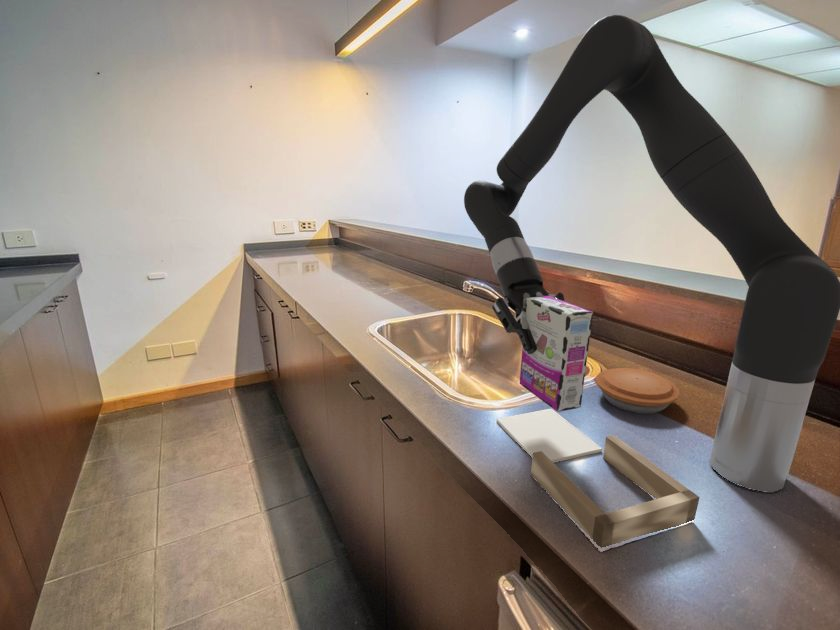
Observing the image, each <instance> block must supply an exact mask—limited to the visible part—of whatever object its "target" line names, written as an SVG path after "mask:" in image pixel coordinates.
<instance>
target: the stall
mask: <svg viewBox="0 0 840 630" xmlns="http://www.w3.org/2000/svg"><path fill="white" fill-rule="evenodd" d="M602 459H604V460H605V461H606V462H607V463H608V464H610V465H611V466H612V467H613V468H615V469H616V470H617V471H618V470H619V471H618V472H619V473H620V474H622V475H623V474H624V475H625V476H624V475H623V476H624V477H626V478H627V479H628V478H629V479H630V480H632V481H633V482H634V483H635V484H637V485H638V486H640V487H641V488H643V489H644V490H645V491H646V492H647V493H649V494H650V495H652V496H653V497H654V498H656V499H655V500H654V499H652V500H648V501H646V502H645V501H644V502H642V503H637V504H633V505H632V506H627V507H624V508H621V509H617V510H614V511H611V512H608V513H605V512H604V511H603V510H602V509H601V508H600V507H599V506H598V505H597V504H596V503H595V502H594V501H593V500H592V499H591V498H590V497H589V496H588V495H587V494H586V493H585V492H584V491H583V490H582V489H581V488H580V487H578V485H577V484H576V483H575V482H574V481H572V479H571V478H569V476H567V474H565V472H563V471H562V470H561V469H560V468H559V467H558V465H556V464H555V463H553V462H552V461H551V460H550V459H549V458H548V457H547V456H546V455H545V454H544V453H543V452H542V451H539V452H535V453H533V456H532V458H531V468H530V469H531V470H530V476H531V475H532V476H533V477H534V478H535V479H536V480H537V482H538V483H539V484H540V485H541V486H542V487H543V488H544V489H545V490H546V491H547V493H549V495H550V496H551V497H552V498H553V499H554V500H555V501H556V502H557V503H558V505H560V506H561V508H563V509H564V511H565V512H566V513H567V514H568V515H569V516H570V517H571V518H572V519H573V520H574V521H575V523H577V524H578V525H579V527H580V528H582V529H583V530H584V531H585V532H586V533H587V534H588V535H589V536H590V538H591V539H593V541H594V542H596V544H597V545H598V546H600V547H601V548H602V547H606V546H609V545H612V544H616V543H620V542H622V541H626V540H629V539H631V538H635V537H639V536H642V535H646V534H649V533H653V532H657V531H660V530H664V529H668V528H671V527H676V526H679V525H681V524H684V523H687V522H689V521H692V520H694V519H696V513H697V511H698V510H697V509H698V506H699V501H700V496H699V495H697V494H696V493H695V492H694V491H693V490H691V489H689V488H688V487H686V486H685V485H684V484H682V483H681V482H679V480H677V479H675V478H674V476H673V477H672V476H671V475H670V474H668V473H667V472H665V470H663V469H662V468H660V467H659V466H658V465H656V464H655V463H653V462H652V461H650V460H649V459H648V458H646V457H645V456H644V455H642V454H641V453H640V452H638V451H637V450H635V449H634V448H632V447H631V446H630V445H629V444H628V443H626V442H624V441H623V440H622V439H620V438H619V437H618V436H616V435H615V434H612V435H607V436H605V441H604V449H603V457H602ZM532 476H531V477H532ZM533 477H532V478H533ZM629 479H628V480H629ZM630 480H629V481H630ZM632 481H631V482H632ZM537 482H536V483H537ZM633 482H632V483H633ZM538 483H537V484H538ZM634 483H633V484H634ZM539 484H538V485H539ZM635 484H634V485H635ZM540 485H539V486H540ZM637 485H636V486H637ZM541 486H540V487H541ZM638 486H637V487H638ZM542 487H541V488H542ZM547 493H546V494H547ZM549 495H548V496H549ZM550 496H549V497H550ZM558 505H557V506H558ZM694 521H695V520H694Z"/></svg>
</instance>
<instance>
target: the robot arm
mask: <svg viewBox="0 0 840 630" xmlns="http://www.w3.org/2000/svg"><path fill="white" fill-rule="evenodd" d="M653 35H654V34H652V33H651V31H650V30H649V29H648V28H647V27H646V26H645V25H643V24H642V23H640V22H638V21H636V20H634V19H632V18H630V17H628V16H626V15H622V14H611V15H606V16H604V17H602V18H600V19H598V20H597V21H595V22H594V23H593V24H592V25H591V26H590V27H589V28H588V29H587V30H586V32H585V33H584V35H583V36H582V38H581V39H580V40H579V42H578V43H577V45H576V47H575V49H574V50H573V52H572V54H571V55H570V57H569V59H567V62H566V64H565V66H564V67H563V69H562V71H561V72H560V74H559V76H558V78H557V79H556V81H555V82H554V84H553V85H552V87H551V89H550V91H549V93H547V96H546V97H545V99H544V100H543V102H542V103H541V106H540V107H539V108H538V110H537V111H536V113H535V114H534V116H533V117H532V118H531V120H530V121H529V123H528V124H527V126H526V127H525V128H524V129H523V131H522V132H521V133H520V134H519V136H518V137H517V139H516V140H515V141H514V142H513V144H512V145H511V146H510V147H509V149H508V150H507V151H506V152H505V154H504V155H503V156H502V157H501V159H500V160H499V162H498V163H497V166H496V174H497V176H498V177H499V179H500V181H501V182H502V183H500V184H497V183H494V182H489V181H487V180H475V181H473V182H472V183H470V184H469V185H468V186H467V188H466V190H465V191H464V195H463V196H464V197H463V204H464V209H465V211H466V214H467V216H468V218H469V219H470V221H471V222H472V224H473V226H474V227H475V228H476V229H477V231H478V232H479V233H480V234H481V237H483V238H484V241H485V245H486V247H487V249H488V250H487V251H488V252H489V255H490V259H491V260H490V261H491V264H492V267H493V271H494V273H495V276H496V278H497V280H498V281H497V282H498V284H499V287H500V289H501V292H502V295H503V296H504V298H502V297H498V298H497V299H496V300H495V302H494V303H493V304H492V306H491V308H492V310H493V311H494V313H495V315H496V317H497V318H498V320H499V322H500V323H501V325H502V326H503V329H504V330H505V332H506V333H508V334H512V333H514V334H516V335H518V337H519V340H520V343H521V346H522V347H523V349H524V350H525V351H527V353H528V354H533V353H534V352H535V351H536V350H537V346H536V344H535V341H534V339H533V336H532V333H531V331H530V330H528V321H527V318H526V317H527V313H526V298H530V297H539V296H551V297H553V298H556V299H559V300H562V301H564V302H566V301H565V296H564V294H563V293H562V292H558V293H557V294H552V293H551V294H550V293H549V292H548V291H547V289H545V287H544V280H543V277H542V274H541V272H540V269H539V267H538V264H537V262H536V260H535V258H534V256H533V253H532V250H531V249H530V247H529V245H528V243H527V242H526V240H525V238H524V234H523V232H522V230H521V227H520V225H519V223H518V221H517V220H516V219H515V218H514V217H512V216H511V215H512V214H513V213H514V211H515V210H516V208H517V207H518V204H519V203H520V201H521V199H522V197H523V196H524V193H525V190H526V189H527V187H528V184H529V183H530V182H532V181H533V179H534V178H536V176H537V175H538V174H539V173H540V172H541V171H542V169H543V168H544V167H545V166H547V164H548V163H549V162H550V160H551V159H552V157H553V156H554V154H555V152H556V151H557V149H558V148H559V146H560V144H561V142H562V140H563V138H564V136H565V134H566V132H567V131H568V130H569V127H570V125H571V124H572V123H573V121H574V120H575V119H576V117H577V116H578V115H579V113H581V111H582V110H583V109H584V108H586V106H587V105H588V104H589V103H590V102H591V101H593V99H595V98H596V97H597V96H598V95H599V94H600V93H601V92H603V91H607V92H609V93H610V94H611V95H612V96H614V98H615V99H616V100H617V101H618V102H619V103H620V104H621V105H622V106H623V107H624V108H625V110H626V111H627V112H628V114H629V115H631V116H632V119H633V120H634V121H635V123H636V124H637V126H638V129H639V130H640V133H641V136H642V138H643V141H644V144H645V145H644V146H645V147H646V150H647V151H646V152H647V153H648V156H649V159H650V161H651V164H652V165H653V168H654V169H655V171H656V173H657V174H658V175H659V177H660V179H661V180H662V182H663V183H664V185H665V186H666V187H667V188H668V190H669V192H670V193H671V194H672V195H673V197H674V198H675V200H677V201H678V203H680V205H681V206H682V207H683V209H684V210H686V211H687V212H688V214H690V216H692V218H694V219H695V220H696V221H697V223H699V224H700V225H701V226H702V227H704V228H705V230H707V231H708V232H709V233H710V234H712V236H713V237H715V238H716V239H717V240H718V242H719V243H720V244H722V246H723V247H724V249H725V250H726V251H727V252H728V254H729V255H730V257H731V259H732V260H733V261H734V263H735V265H736V266H737V268H738V269H739V272H740V273H741V274H742V277H743V278H744V280H745V282H746V284H747V286H748V288H747V291H746V296H745V300H744V305H743V309H742V313H741V319H740V322H739V323H740V324H739V327H738V332H737V336H736V340H735V344H734V350H733V351H734V352H733V356H732V359H731V360H732V361H731V365H730V369H729V373H728V378H727V383H726V386H725V391H724V396H723V401H722V405H721V408H720V409H721V410H720V412H719V413H720V414H719V417H718V423H717V426H716V432H715V435H714V440H713V443H712V447H711V452H710V457H709V462H710V463H709V465H710V464H711V465H710V467H711V466H712V467H713V469H714V470H716V471H717V472H718V473H719V474H721V475H722V476H723V477H725V478H726V479H728V480H729V481H731V482H734V483H736V484H739V485H742V486H744V487H747V488H751V489H755V490H759V491H767V492H766V493H775V492H774V491H777V492H779V491H778V490H780V489H781V490H782V489H784V486H785V484H786V477H787V476H788V477H789V475H790V474H789V473H790V469H791V467H792V464H793V460H794V456H795V454H796V453H795V452H796V449H797V446H798V444H799V439H800V437H801V432H802V429H803V424H804V419H805V417H806V413H807V410H808V407H809V403H810V399H811V396H812V393H813V392H812V391H813V388H814V385H815V381H816V379H817V375H818V373H819V369H820V367H821V366H822V364H823V362H824V361H825V358H826V356H827V355H826V354H827V351H828V348H829V346H830V345H829V344H830V342H831V339H832V335H833V333H834V329H835V326H836V323H837V319H838V317H839V313H840V279H839V277H838V275H837V274H836V272H835V271H834V269H833V268H832V267H831V266H830V265H829V264H828V263H827V262H825V261H824V260H823V259H822V258H820V256H818V255H817V254H816V252H814V251H813V250H812V248H810V247H809V246H808V245H807V244H806V243H805V242H804V241H803V240H802V238H800V237H799V236H798V235H797V234H796V232H795V231H794V230H792V229H791V227H790V226H789V225H788V224H787V223H786V222H785V221H784V219H783V217H782V216H781V215H780V214H779V213H778V211H777V209H776V208H775V206H774V204H773V202H772V200H771V198H770V197H769V195H768V193H767V191H766V189H765V187H764V185H763V184H762V182H761V180H760V179H759V176H758V175H757V174H756V172H755V170H754V169H753V168H752V166H751V164H750V163H749V162H748V159H747V158H746V157H745V156H744V154H743V152H742V151H741V150H740V149H739V147H738V146H737V144H736V143H735V142H734V141H733V139H732V138H731V137H730V136H729V135H728V133H727V132H726V131H725V130H724V128H723V127H722V126H721V125H720V123H718V122H717V121H716V120H715V118H714V117H713V116H712V115H711V113H710V112H709V111H707V109H706V108H705V107H704V106H703V105H702V103H700V102H699V101H698V100H697V99H696V98H695V97H694V96H693V95H692V94H691V93H690V92H689V91H688V90H687V89H686V88H685V87H684V86H683V84H682V83H681V82H680V80H679V79H678V77H677V76H676V74H675V72H674V71H673V69H672V68H671V66H670V64H669V63H668V61H667V59H666V57H665V55H664V54H663V52H662V50H661V48H660V46H659V44H658V43H657V40H656V39H655V37H654V36H653ZM510 309H511V310H512V311H514V314H513V313H512V312H511V310H510ZM712 467H711V468H712ZM713 469H712V470H713ZM714 470H713V471H714ZM723 477H722V478H723ZM788 477H787V478H788ZM726 479H725V480H726ZM728 480H727V481H728ZM729 481H728V482H729ZM731 482H730V483H731ZM736 484H735V485H736ZM781 490H780V491H781ZM759 491H758V492H759Z"/></svg>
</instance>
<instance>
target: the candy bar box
mask: <svg viewBox="0 0 840 630" xmlns="http://www.w3.org/2000/svg"><path fill="white" fill-rule="evenodd" d="M564 301H565V300H564ZM564 301H562V300H559V299H556V298H553V297H551V296H539V297H530V298H526V313H527V317H526V318H527V321H528V330H530V331H531V333H532V336H533V339H534V341H535V344H536V346H537V350H536V351H535V352H534V353H533V354H528V353H527V351H525V350H524V349H523V346H522V348H521V362H520V374H519V375H520V376H519V385H520V386H522V387H523V388H524V389H525V390H527V391H528V392H530V393H531V394H533V395H534V396H535V397H536V398H538V399H539V400H541V401H542V402H543V403H545V404H546V405H548V406H549V407H550V408H551V409H553V410H554V411H555V412H556V413H558V412H559V413H560V412H565V411H570V410H575V409H580V408H581V407H582V399H583V391H584V385H585V377H586V369H587V363H588V362H587V360H588V354H589V348H590V347H589V346H590V339H591V338H590V337H591V333H592V332H591V331H592V323H593V316H594V311H592V310H589V309H586V308H583V307H581V306H578V305H576V304H572V303H569V302H567V301H565V302H564Z"/></svg>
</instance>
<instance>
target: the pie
mask: <svg viewBox="0 0 840 630" xmlns="http://www.w3.org/2000/svg"><path fill="white" fill-rule="evenodd" d="M594 381H595V383H596V385H597V387H598V388H599V389H600V392H602V394H603V396H604V399H605V400H606V401H608V403H610V404H611V405H613V406H614V407H617V408H618V409H620V410H624V411H627V412H631V413H636V414H644V415H645V414H649V415H650V414H657V412H658V413H660V412H662V411H664V410H665V409H667V407H668V406H670V405H671V404H672V403H674V402H676V401H677V400H678V399H679V397H680V396H681V393H680V392H681V391H680V389H679V388H678V387H677V386H676V385H675V384H674V383H673V382H671V381H670V380H668V379H667V378H665V377H663V376H661V375H659V374H656V373H654V372H650V371H647V370H643V369H640V368H639V369H638V368H632V367H616V368H615V367H614V368H609V369H604V370H603V371H600V372H598V373H597V375H595V378H594Z"/></svg>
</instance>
